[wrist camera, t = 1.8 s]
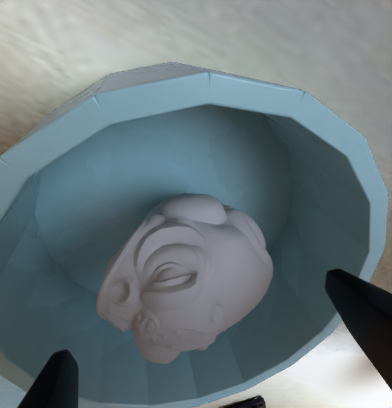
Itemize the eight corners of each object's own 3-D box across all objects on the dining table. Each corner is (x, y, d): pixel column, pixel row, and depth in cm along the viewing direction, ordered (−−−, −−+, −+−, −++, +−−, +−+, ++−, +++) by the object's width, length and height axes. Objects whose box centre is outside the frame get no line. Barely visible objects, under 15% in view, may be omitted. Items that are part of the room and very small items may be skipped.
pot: (296, 273, 19) (357, 353, 14) (87, 335, 18) (71, 449, 13) (308, 34, 12) (445, 23, 7) (-54, 104, 10) (-231, 159, 5)
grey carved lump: (113, 152, 12) (101, 255, 6) (255, 175, 14) (349, 267, 8) (101, 261, 14) (83, 407, 9) (221, 266, 17) (274, 386, 11)
